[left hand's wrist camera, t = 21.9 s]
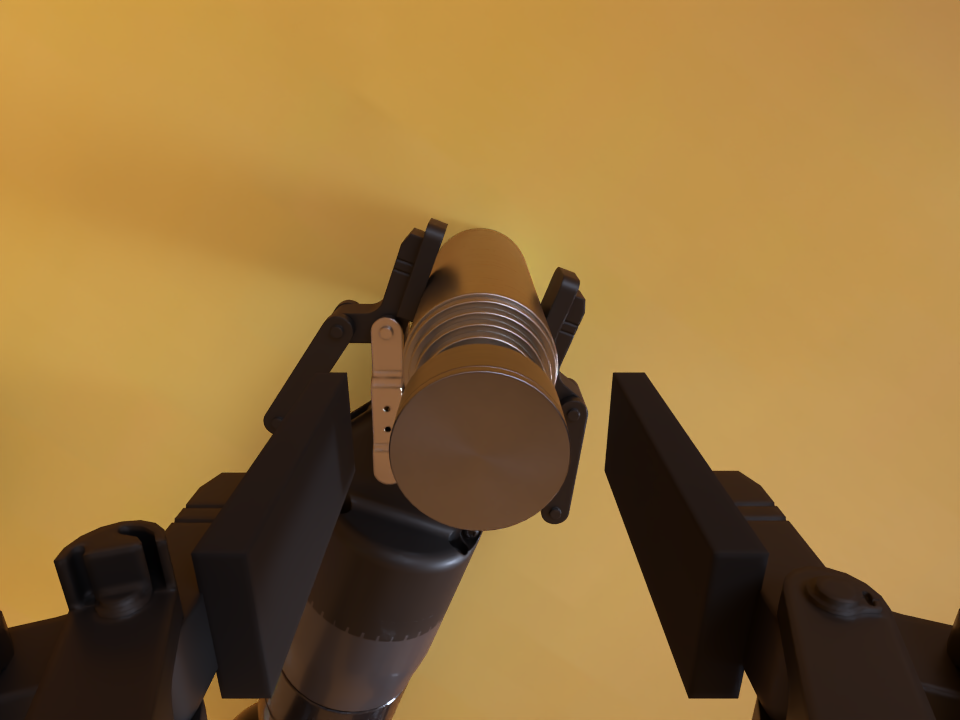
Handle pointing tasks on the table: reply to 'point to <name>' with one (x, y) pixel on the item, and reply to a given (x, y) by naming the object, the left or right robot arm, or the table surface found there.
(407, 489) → the cap
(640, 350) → the table surface
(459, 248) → the bottle
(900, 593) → the table surface
